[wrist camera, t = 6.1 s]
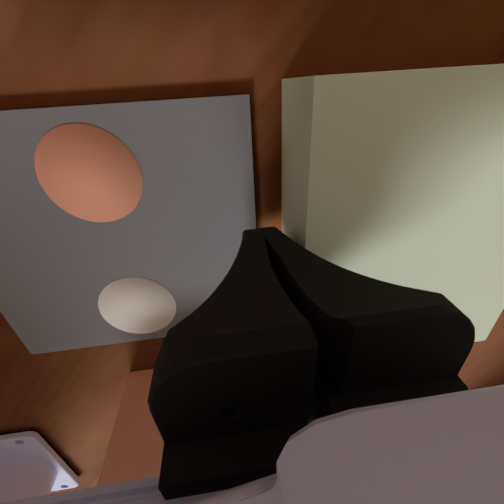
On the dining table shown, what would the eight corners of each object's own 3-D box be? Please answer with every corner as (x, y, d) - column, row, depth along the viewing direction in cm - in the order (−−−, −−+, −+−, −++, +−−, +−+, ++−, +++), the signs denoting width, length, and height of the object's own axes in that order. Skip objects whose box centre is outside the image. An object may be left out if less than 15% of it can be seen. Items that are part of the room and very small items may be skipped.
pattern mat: (35, 348, 14) (30, 355, 14) (-126, 118, 9) (-140, 120, 8) (259, 319, 15) (261, 325, 15) (248, 94, 10) (249, 94, 9)
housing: (280, 306, 16) (298, 367, 12) (279, 79, 10) (314, 75, 7) (428, 287, 16) (485, 340, 13) (508, 64, 11) (648, 54, 7)
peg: (146, 408, 19) (121, 531, 13) (129, 371, 16) (92, 500, 11) (206, 399, 19) (203, 516, 14) (197, 362, 17) (190, 483, 12)
